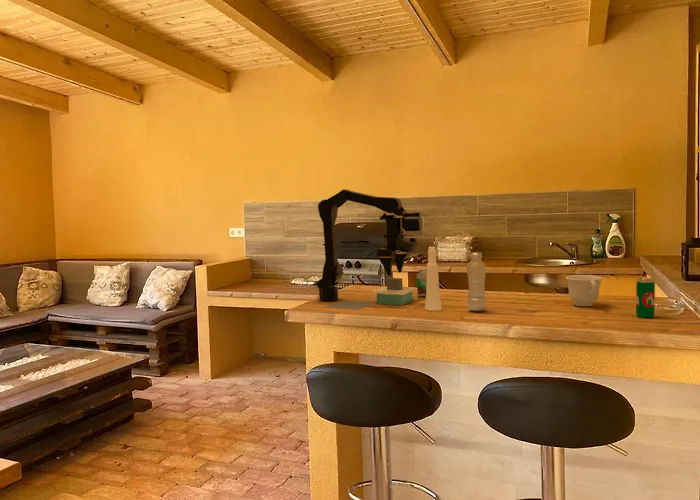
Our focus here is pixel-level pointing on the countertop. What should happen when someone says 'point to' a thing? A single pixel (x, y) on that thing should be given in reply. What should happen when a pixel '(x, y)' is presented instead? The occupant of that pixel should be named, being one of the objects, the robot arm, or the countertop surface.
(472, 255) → the plastic bottle
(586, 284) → the teacup
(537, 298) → the countertop surface
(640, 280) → the soda can
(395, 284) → the lid
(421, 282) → the food container
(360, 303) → the mat
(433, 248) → the cosmetic bottle
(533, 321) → the countertop surface
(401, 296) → the dish
